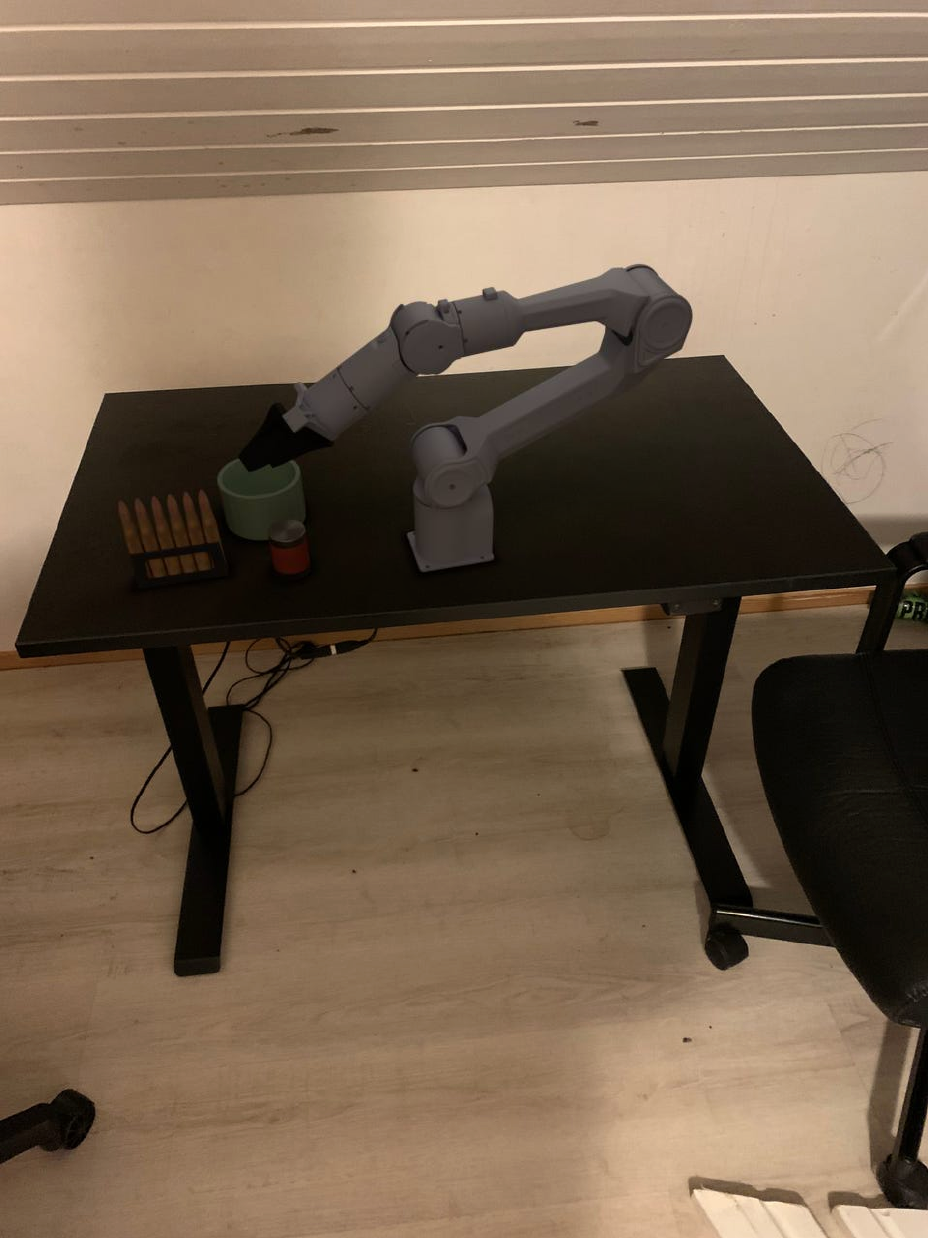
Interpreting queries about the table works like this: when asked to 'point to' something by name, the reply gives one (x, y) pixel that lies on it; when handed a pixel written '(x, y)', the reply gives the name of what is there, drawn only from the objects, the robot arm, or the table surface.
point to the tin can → (289, 550)
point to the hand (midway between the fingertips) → (256, 462)
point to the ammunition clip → (173, 543)
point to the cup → (260, 497)
